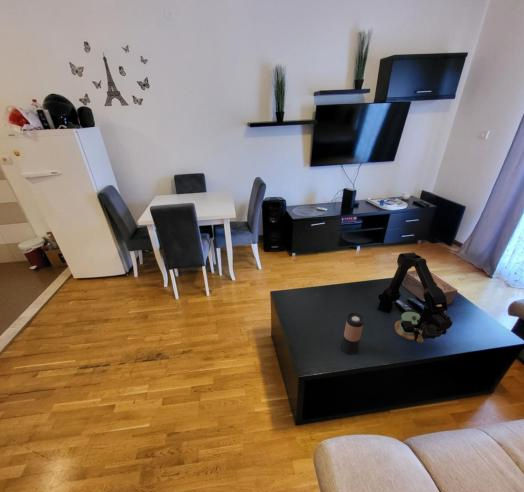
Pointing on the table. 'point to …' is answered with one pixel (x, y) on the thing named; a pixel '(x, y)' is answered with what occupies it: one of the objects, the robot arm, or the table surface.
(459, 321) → the table surface
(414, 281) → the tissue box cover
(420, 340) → the pot
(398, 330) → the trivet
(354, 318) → the travel mug
